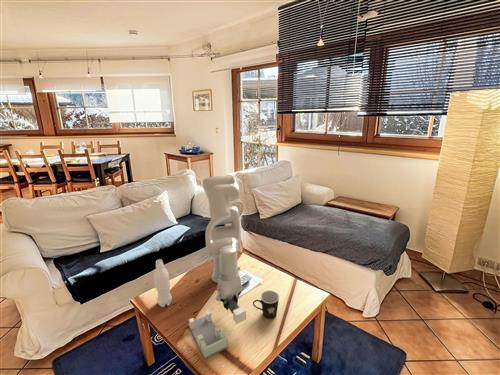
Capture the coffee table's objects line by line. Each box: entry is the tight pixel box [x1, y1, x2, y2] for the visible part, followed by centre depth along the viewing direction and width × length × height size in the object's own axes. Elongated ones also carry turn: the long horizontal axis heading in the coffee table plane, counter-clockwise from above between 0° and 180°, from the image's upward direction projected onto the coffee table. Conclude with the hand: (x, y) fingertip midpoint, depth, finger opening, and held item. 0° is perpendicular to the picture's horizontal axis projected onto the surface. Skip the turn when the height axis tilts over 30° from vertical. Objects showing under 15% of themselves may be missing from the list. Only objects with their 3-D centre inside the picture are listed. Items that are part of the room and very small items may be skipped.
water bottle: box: [153, 258, 173, 308], centre depth 133 cm, size 7×7×25 cm
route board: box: [187, 310, 228, 360], centre depth 116 cm, size 10×20×5 cm, turn 31°
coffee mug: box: [252, 290, 280, 320], centre depth 127 cm, size 12×9×10 cm
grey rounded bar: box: [227, 296, 247, 325], centre depth 122 cm, size 19×5×5 cm, turn 31°
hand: (230, 305), depth 123 cm, fingers closed on grey rounded bar, 4 cm apart
